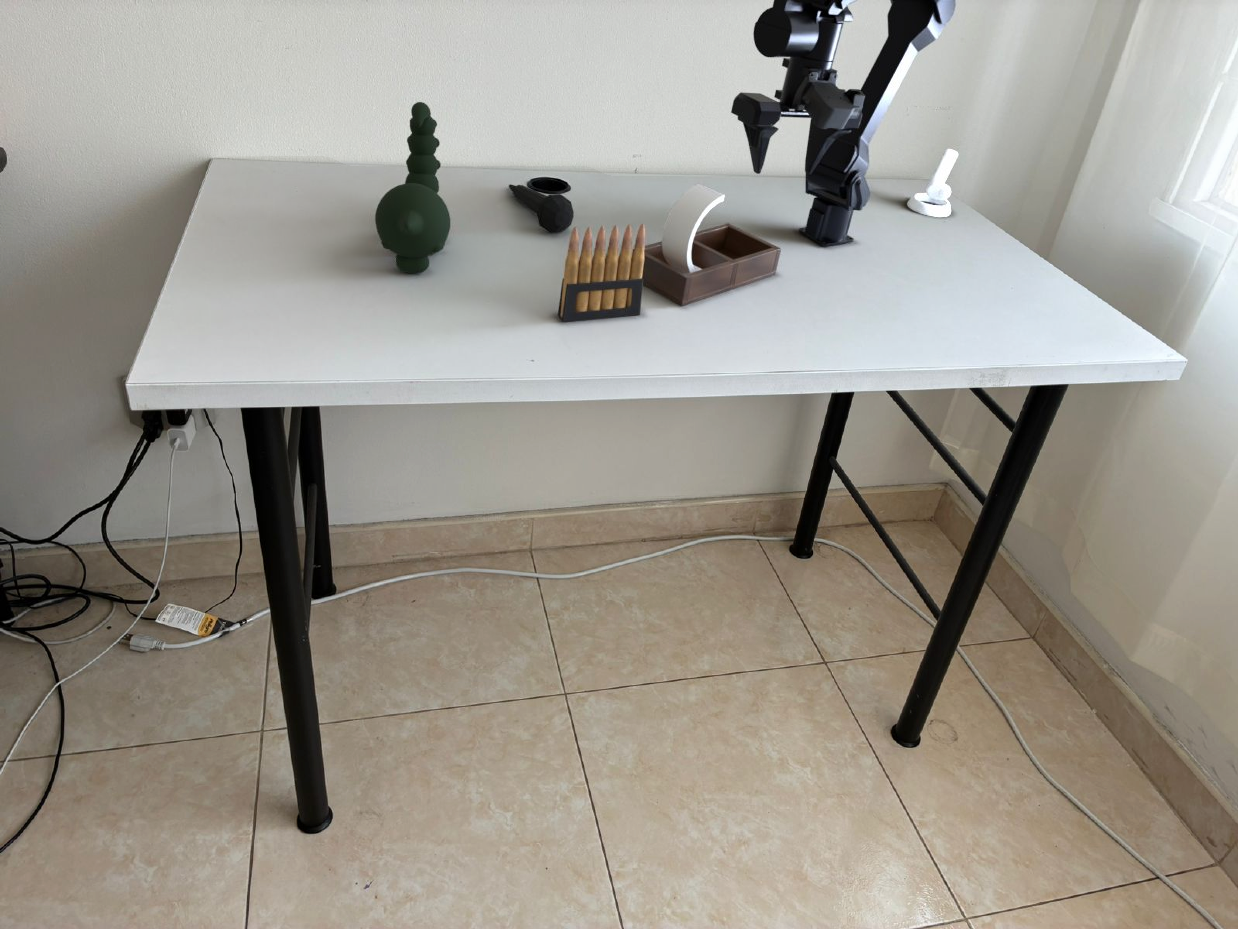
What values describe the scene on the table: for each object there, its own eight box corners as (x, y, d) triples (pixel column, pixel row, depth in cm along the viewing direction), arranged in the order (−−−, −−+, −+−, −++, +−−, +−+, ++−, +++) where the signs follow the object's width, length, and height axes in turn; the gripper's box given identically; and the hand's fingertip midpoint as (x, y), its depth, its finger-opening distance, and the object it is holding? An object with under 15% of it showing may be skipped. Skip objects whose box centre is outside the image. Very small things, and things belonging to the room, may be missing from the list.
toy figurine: (391, 227, 139) (369, 288, 118) (388, 91, 129) (364, 131, 108) (456, 232, 140) (446, 293, 119) (458, 97, 130) (447, 138, 109)
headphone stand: (709, 278, 131) (725, 194, 124) (680, 289, 127) (695, 203, 120) (685, 266, 133) (699, 183, 126) (656, 276, 130) (668, 191, 123)
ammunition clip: (562, 322, 118) (570, 230, 111) (557, 315, 119) (565, 224, 112) (640, 314, 122) (652, 226, 115) (634, 308, 123) (646, 220, 116)
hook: (965, 171, 170) (978, 160, 163) (937, 232, 171) (949, 223, 164) (927, 154, 171) (939, 142, 164) (899, 215, 171) (909, 206, 164)
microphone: (500, 209, 153) (552, 244, 138) (489, 175, 149) (541, 207, 134) (530, 196, 154) (584, 229, 139) (520, 162, 151) (574, 192, 136)
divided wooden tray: (723, 248, 142) (728, 222, 140) (775, 274, 137) (781, 248, 134) (628, 276, 131) (632, 248, 128) (681, 306, 125) (686, 278, 123)
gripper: (793, 68, 115) (763, 193, 124) (904, 75, 124) (868, 192, 132) (742, 46, 123) (716, 165, 131) (850, 54, 132) (819, 166, 140)
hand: (782, 172), depth 134 cm, fingers open, 9 cm apart
